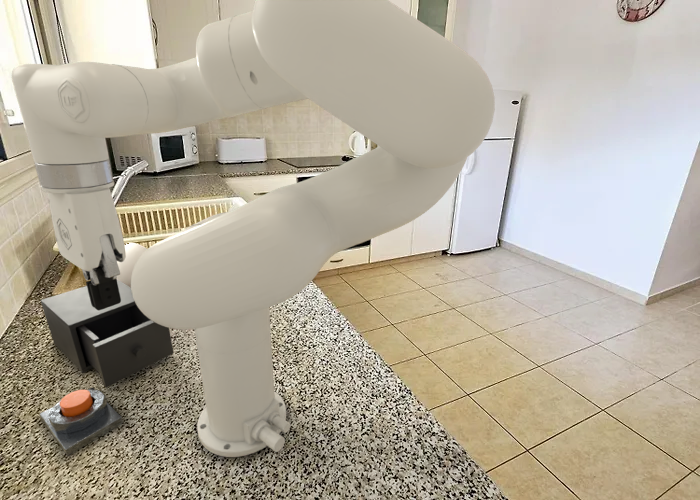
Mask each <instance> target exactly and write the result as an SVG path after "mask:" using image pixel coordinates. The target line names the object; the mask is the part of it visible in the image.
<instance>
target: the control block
mask: <svg viewBox="0 0 700 500" xmlns="http://www.w3.org/2000/svg"><path fill="white" fill-rule="evenodd" d="M87 390H88V391H89V392H90V394H91V397H92V401H93V404H92V406H91V407H90V408H89V409H88V410H87V411H85V412H84V413H82V414H80V415H77V416H73V417H65V416H64V415H63V413H62V410H61V407H60V401H61V400H59V401H58V402H57V403H56V404H55V405H53V406H51V407H50V408H48V409H46V410H44V411H42V412H40V413H39V416H40V419H41V422H43V424H44V425H45V427H46V428H47V429H48V431H49V433H50V434H51V435H52V436H53V438H54V439H55V441H56V442H57V444H58V445H59V446H60V448H61V449H62V450H63V452H64V454H65V455H66V457H68V456H70V455H72V454H74V453H75V452H77V451H79V450H80V449H82V448H83V447H86V446H87V445H89V444H90V443H92V442H94V441H96V440H98V438H101V437H102V436H104V435H107V433H109V432H110V431H113V430H114V429H116V428H117V427H119V426H121V425H122V424H123V423H124V421H123V417H122V416H121V415H120V413H118V411H117V410H115V409H114V408H113V406H111V404H110V403H109V402H107V400H106V399H107V398H106V395H105V394H104V393H103V392H102V391H101V390H98V389H95V388H94V386H93V387H90V388H88V389H87Z"/></svg>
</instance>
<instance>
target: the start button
mask: <svg viewBox="0 0 700 500" xmlns="http://www.w3.org/2000/svg"><path fill="white" fill-rule="evenodd" d="M59 401H60V400H59ZM92 404H93V401H92V397H91V394H90V392H89V391H88V389H77V390H74V391H71V392H69V393H68V394H66V395H64V396H63V397H62V398H61V401H60V407H61V410H62V413H63V415H64V416H65V417H73V416H77V415H80V414H82V413H84V412H85V411H87V410H88V409H89V408H90V407H91V406H92Z"/></svg>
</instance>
